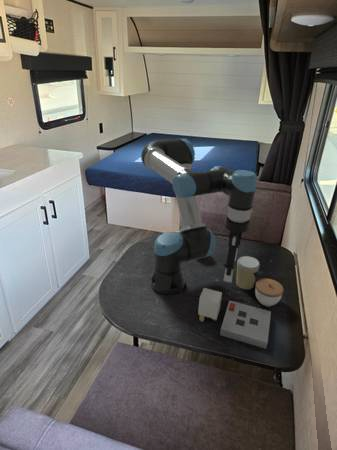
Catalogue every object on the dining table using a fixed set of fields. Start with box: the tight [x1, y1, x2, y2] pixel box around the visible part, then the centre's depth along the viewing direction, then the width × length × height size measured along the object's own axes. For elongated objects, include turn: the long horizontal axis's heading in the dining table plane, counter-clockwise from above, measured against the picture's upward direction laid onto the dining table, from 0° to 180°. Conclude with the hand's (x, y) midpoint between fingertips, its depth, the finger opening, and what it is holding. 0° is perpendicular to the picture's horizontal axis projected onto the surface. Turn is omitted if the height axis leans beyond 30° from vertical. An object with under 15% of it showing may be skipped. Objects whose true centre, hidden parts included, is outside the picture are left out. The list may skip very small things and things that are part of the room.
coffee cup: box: [235, 255, 261, 290], centre depth 130 cm, size 9×9×12 cm
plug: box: [197, 287, 223, 322], centre depth 112 cm, size 7×6×11 cm
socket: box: [219, 300, 272, 350], centre depth 110 cm, size 16×16×4 cm
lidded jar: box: [254, 277, 285, 307], centre depth 121 cm, size 11×11×9 cm
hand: (230, 269), depth 108 cm, fingers open, 13 cm apart
